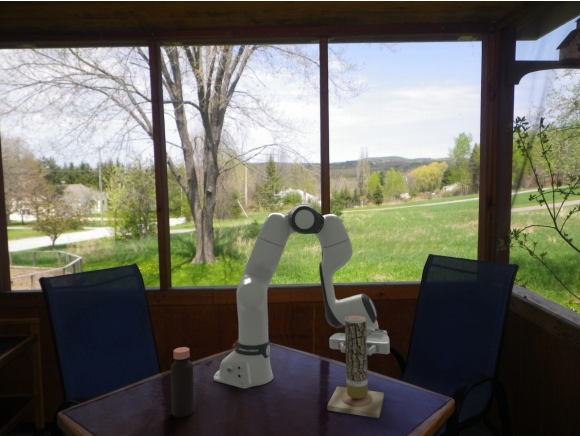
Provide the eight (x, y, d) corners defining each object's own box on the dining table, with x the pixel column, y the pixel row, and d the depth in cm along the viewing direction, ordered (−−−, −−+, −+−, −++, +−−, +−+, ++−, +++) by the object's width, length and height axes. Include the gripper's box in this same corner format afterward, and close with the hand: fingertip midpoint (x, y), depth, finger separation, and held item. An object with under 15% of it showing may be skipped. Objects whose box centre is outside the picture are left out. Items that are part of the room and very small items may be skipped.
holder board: (327, 410, 126) (327, 404, 125) (337, 390, 139) (337, 385, 139) (379, 418, 120) (378, 412, 120) (384, 397, 133) (384, 391, 133)
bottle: (182, 420, 121) (180, 355, 120) (167, 414, 125) (165, 351, 124) (198, 410, 127) (197, 348, 126) (183, 405, 130) (182, 344, 130)
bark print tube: (367, 400, 125) (366, 321, 125) (346, 398, 127) (344, 321, 126) (367, 390, 132) (366, 315, 131) (347, 389, 133) (345, 315, 133)
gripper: (333, 326, 145) (324, 338, 132) (391, 331, 138) (387, 344, 125) (334, 343, 145) (324, 357, 132) (391, 349, 138) (387, 364, 125)
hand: (355, 351), depth 128 cm, fingers closed on bark print tube, 7 cm apart
